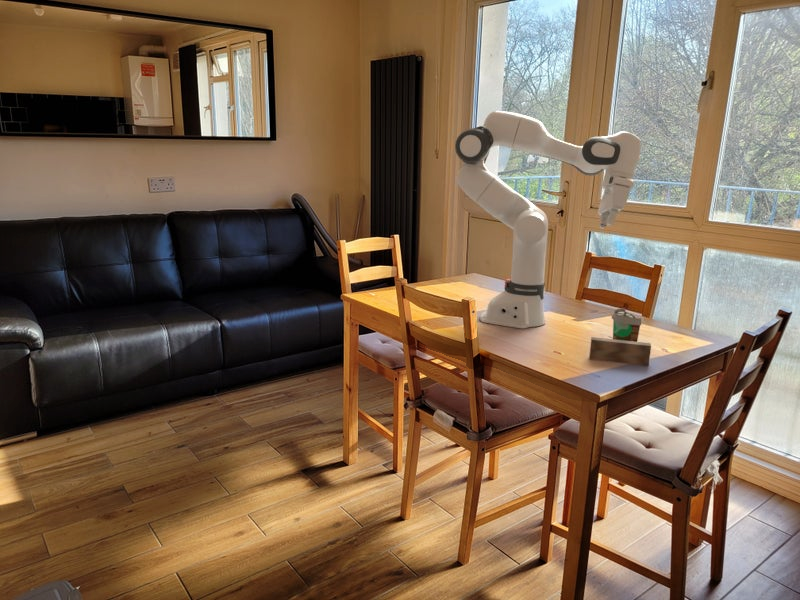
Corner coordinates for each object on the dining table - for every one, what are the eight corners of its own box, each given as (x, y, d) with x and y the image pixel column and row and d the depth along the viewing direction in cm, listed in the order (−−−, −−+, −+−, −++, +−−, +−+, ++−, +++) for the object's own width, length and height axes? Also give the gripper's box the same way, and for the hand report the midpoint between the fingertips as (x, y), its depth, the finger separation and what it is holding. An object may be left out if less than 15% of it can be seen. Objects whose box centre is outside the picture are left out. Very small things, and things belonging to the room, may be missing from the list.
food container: (602, 337, 194) (605, 307, 192) (621, 337, 195) (624, 307, 192) (618, 350, 182) (622, 318, 180) (638, 350, 183) (642, 318, 180)
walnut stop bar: (589, 359, 174) (591, 339, 173) (589, 356, 177) (591, 337, 175) (648, 366, 170) (651, 345, 168) (647, 363, 172) (650, 343, 171)
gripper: (599, 187, 202) (588, 227, 203) (615, 176, 182) (603, 220, 183) (618, 191, 202) (607, 231, 202) (636, 181, 181) (624, 225, 182)
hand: (605, 226), depth 192 cm, fingers open, 8 cm apart
